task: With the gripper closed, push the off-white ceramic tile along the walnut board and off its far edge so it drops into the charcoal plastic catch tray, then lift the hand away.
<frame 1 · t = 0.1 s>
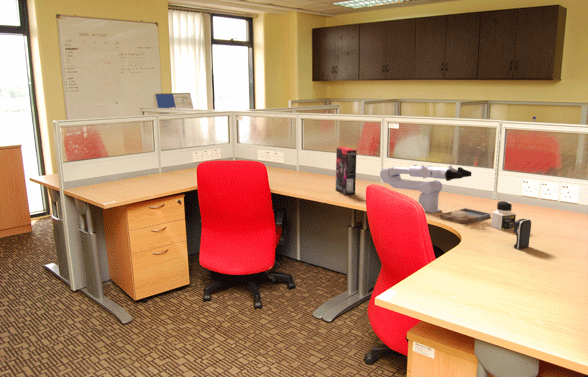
hand: (466, 174, 223), 22 cm above the table, tool horizontal, fingers open, 7 cm apart
tile: (458, 215, 225), point 2 cm above the table, touching board
catch tray: (471, 216, 232), on the table
battery charger: (519, 247, 186), on the table
graphics card box: (345, 192, 287), on the table
medicine bottle: (502, 228, 212), on the table
board: (458, 219, 225), on the table
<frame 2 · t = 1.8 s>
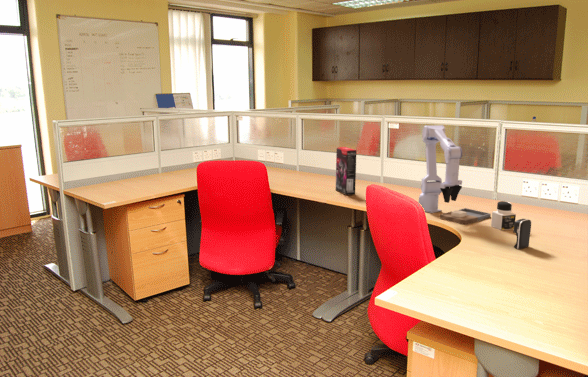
hand: (450, 201, 218), 10 cm above the table, tool pointing down, fingers open, 5 cm apart
nothing on the table moved.
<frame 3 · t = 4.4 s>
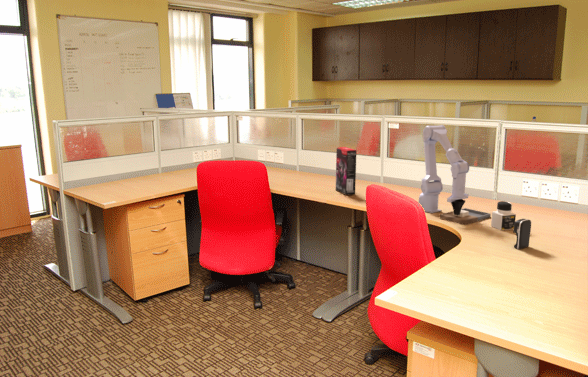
hand: (456, 214, 223), 3 cm above the table, tool pointing down, fingers closed
tile: (460, 215, 226), point 2 cm above the table
everything else where it was.
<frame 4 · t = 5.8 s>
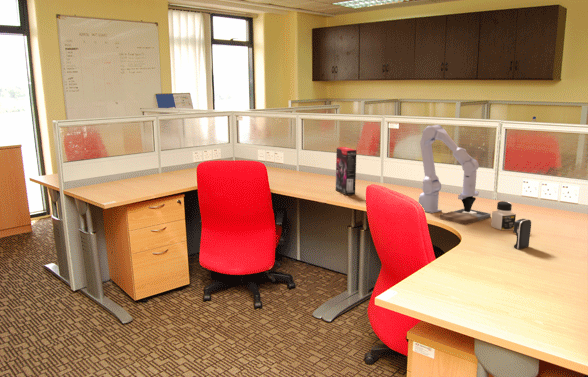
hand: (467, 211, 229), 3 cm above the table, tool pointing down, fingers closed
tile: (469, 216, 230), resting on catch tray
everything else where it was.
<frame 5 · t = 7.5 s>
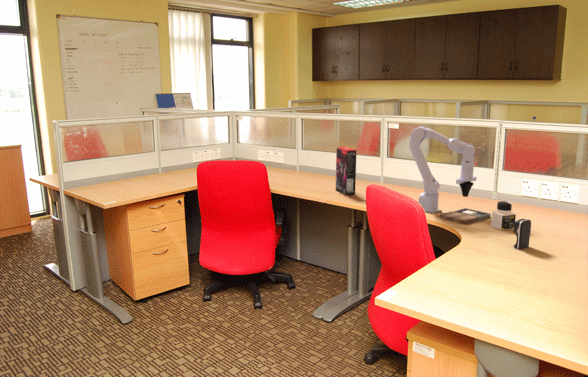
hand: (465, 196, 233), 9 cm above the table, tool pointing down, fingers closed
nothing on the table moved.
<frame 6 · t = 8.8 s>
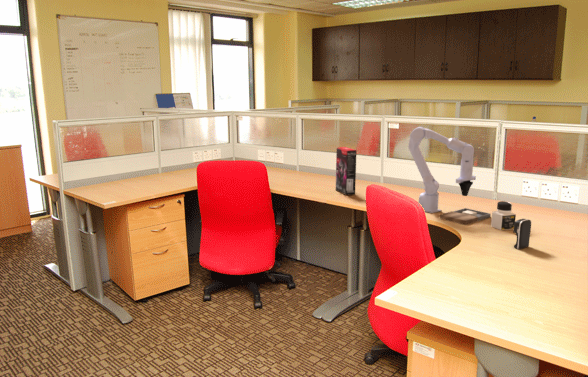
hand: (464, 195, 234), 9 cm above the table, tool pointing down, fingers closed
nothing on the table moved.
at the end: tile inside the target area on the catch tray (2.0 cm from its centre), point 0.4 cm above the catch tray's base; tile moved 9.1 cm from its start; the gripper is holding nothing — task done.
